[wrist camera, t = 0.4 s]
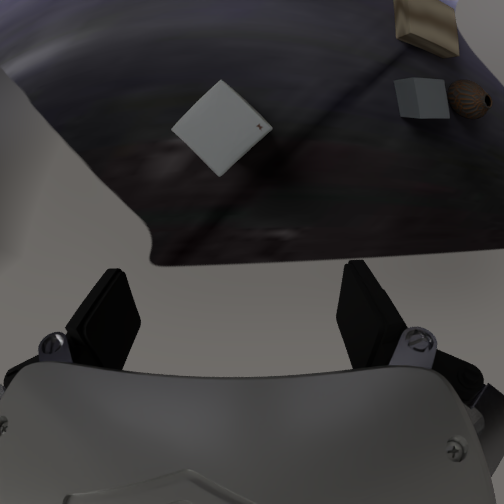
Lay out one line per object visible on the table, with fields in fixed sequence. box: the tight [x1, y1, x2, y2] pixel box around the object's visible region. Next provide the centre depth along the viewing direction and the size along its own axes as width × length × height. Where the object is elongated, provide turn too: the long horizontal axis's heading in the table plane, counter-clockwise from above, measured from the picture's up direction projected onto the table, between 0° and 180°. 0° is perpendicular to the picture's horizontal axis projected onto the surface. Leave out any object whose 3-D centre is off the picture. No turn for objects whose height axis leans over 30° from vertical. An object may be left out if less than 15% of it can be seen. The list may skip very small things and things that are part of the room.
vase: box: [448, 80, 492, 119], centre depth 27 cm, size 7×7×9 cm
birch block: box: [393, 0, 459, 58], centre depth 23 cm, size 10×10×5 cm
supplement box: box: [171, 80, 273, 177], centre depth 30 cm, size 7×7×13 cm
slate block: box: [394, 78, 450, 119], centre depth 29 cm, size 6×6×6 cm
